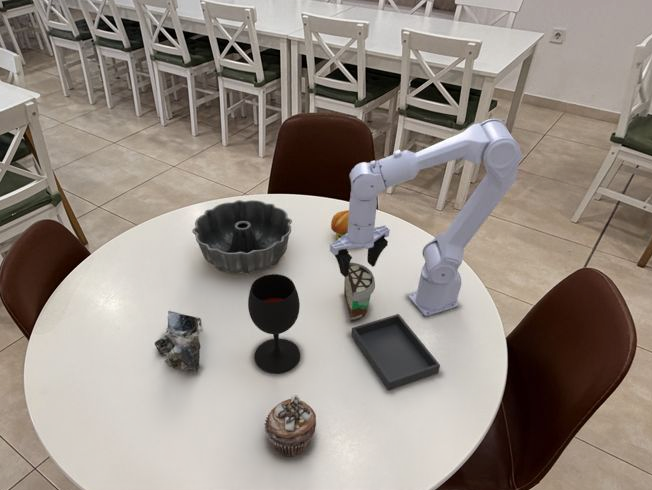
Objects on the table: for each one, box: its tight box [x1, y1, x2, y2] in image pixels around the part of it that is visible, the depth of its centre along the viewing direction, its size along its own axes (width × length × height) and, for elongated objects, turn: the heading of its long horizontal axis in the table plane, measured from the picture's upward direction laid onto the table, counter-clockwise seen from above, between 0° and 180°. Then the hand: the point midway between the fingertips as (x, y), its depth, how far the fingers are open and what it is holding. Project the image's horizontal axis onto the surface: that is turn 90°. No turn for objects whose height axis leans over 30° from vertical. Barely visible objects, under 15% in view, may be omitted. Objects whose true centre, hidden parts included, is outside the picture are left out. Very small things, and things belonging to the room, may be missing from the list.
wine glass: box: [247, 273, 301, 375], centre depth 104 cm, size 10×10×20 cm
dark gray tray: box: [350, 313, 441, 392], centre depth 110 cm, size 12×17×3 cm
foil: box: [154, 310, 204, 374], centre depth 111 cm, size 12×11×15 cm
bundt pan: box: [192, 199, 293, 276], centre depth 135 cm, size 26×26×10 cm
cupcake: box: [263, 394, 317, 458], centre depth 92 cm, size 10×10×10 cm
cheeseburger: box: [330, 209, 349, 241], centre depth 140 cm, size 10×11×10 cm
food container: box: [343, 261, 376, 323], centre depth 118 cm, size 12×6×10 cm, turn 5°
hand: (357, 269), depth 116 cm, fingers open, 7 cm apart
